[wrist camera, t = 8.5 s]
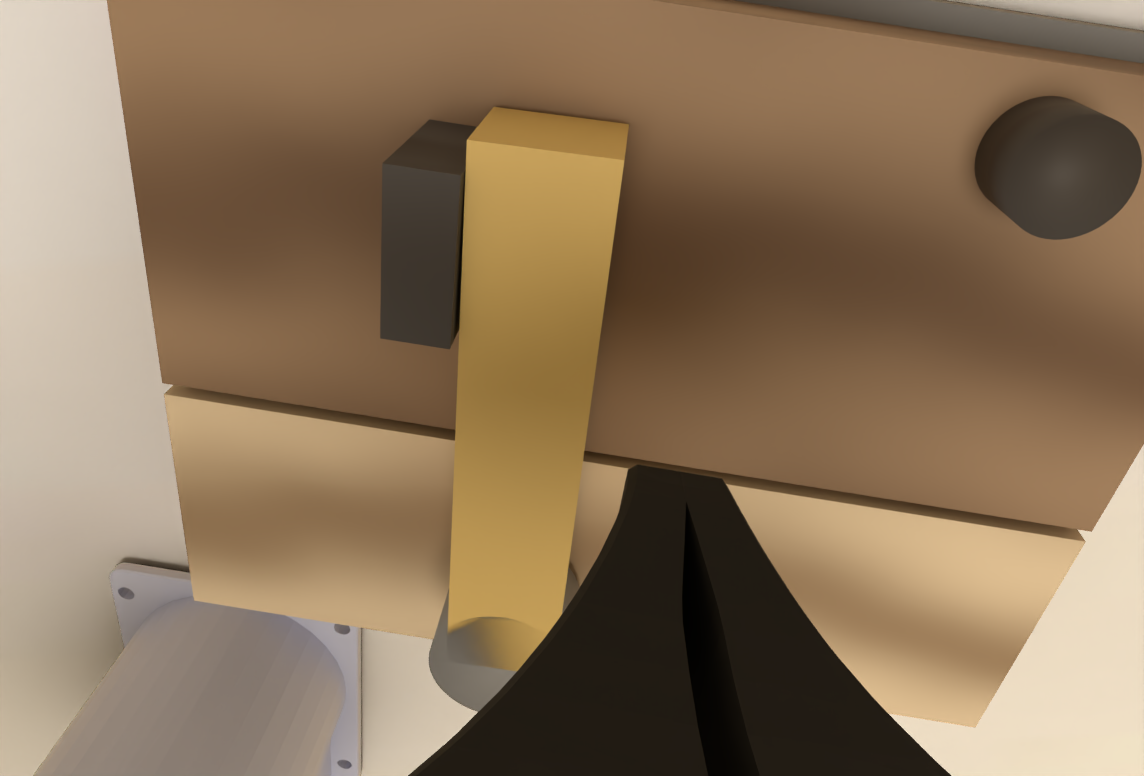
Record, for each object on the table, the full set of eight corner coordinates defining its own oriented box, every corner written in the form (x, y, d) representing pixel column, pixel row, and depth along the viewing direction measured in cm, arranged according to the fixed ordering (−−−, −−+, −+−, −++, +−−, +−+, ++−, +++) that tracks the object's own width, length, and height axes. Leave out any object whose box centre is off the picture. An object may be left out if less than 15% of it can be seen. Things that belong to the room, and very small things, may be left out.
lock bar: (572, 645, 21) (563, 725, 19) (449, 628, 21) (427, 706, 19) (651, 126, 14) (650, 163, 12) (471, 103, 14) (440, 136, 12)
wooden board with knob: (946, 641, 25) (1030, 853, 19) (235, 526, 25) (114, 703, 20) (1257, 48, 16) (1571, 121, 11) (168, -120, 17) (-81, -133, 11)
